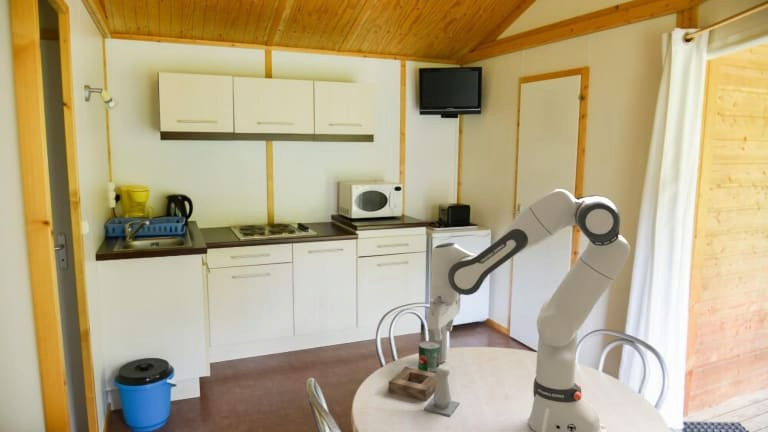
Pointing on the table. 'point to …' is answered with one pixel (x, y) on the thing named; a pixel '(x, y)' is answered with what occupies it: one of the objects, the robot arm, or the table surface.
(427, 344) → the canned tomato
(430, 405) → the coaster
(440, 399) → the salt shaker
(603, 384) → the table surface
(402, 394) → the socket block
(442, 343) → the water bottle
